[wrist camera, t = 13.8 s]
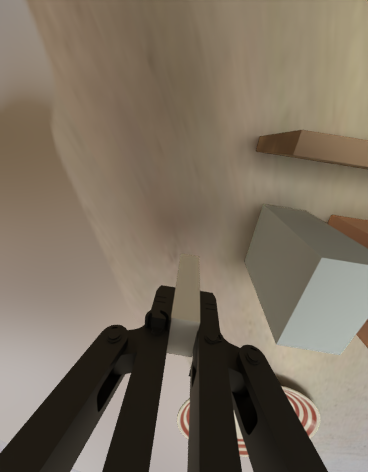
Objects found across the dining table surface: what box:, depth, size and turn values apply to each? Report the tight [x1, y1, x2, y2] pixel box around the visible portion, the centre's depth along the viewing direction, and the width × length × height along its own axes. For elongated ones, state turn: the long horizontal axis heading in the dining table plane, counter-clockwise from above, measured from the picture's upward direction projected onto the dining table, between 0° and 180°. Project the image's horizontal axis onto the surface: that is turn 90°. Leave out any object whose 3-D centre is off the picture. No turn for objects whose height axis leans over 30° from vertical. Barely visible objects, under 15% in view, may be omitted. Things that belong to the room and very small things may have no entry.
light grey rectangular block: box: [244, 204, 368, 355], centre depth 19 cm, size 8×5×12 cm, turn 172°
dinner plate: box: [177, 386, 320, 457], centre depth 40 cm, size 28×27×3 cm
